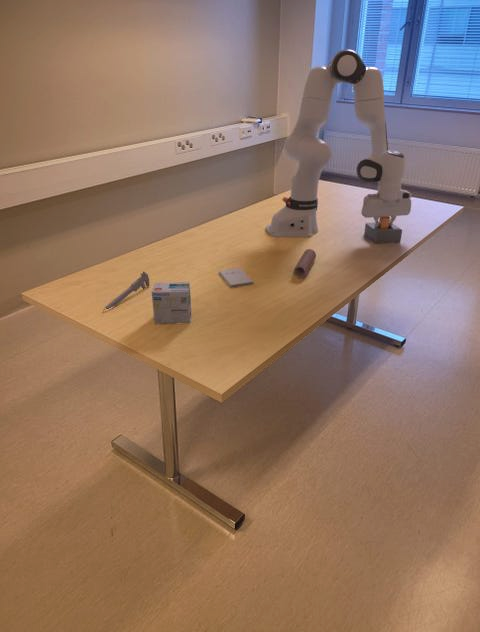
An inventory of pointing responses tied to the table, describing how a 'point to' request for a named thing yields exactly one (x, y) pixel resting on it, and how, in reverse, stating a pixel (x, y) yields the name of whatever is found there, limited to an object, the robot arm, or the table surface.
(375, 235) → the socket holder
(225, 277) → the external hard drive
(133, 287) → the caliper
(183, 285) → the light bulb box
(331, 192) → the table surface
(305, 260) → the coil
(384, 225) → the peg
